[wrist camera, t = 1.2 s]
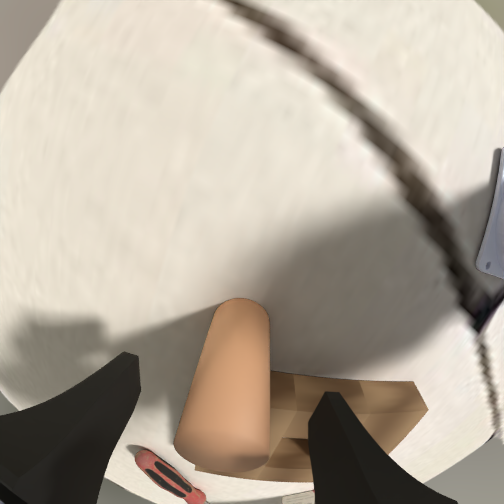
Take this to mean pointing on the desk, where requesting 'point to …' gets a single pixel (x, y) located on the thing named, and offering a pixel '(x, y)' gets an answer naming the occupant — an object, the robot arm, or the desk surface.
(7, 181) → the desk surface
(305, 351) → the desk surface
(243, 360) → the peg
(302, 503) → the ink cartridge box
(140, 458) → the screwdriver
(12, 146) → the desk surface
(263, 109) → the desk surface
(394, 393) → the hole block
